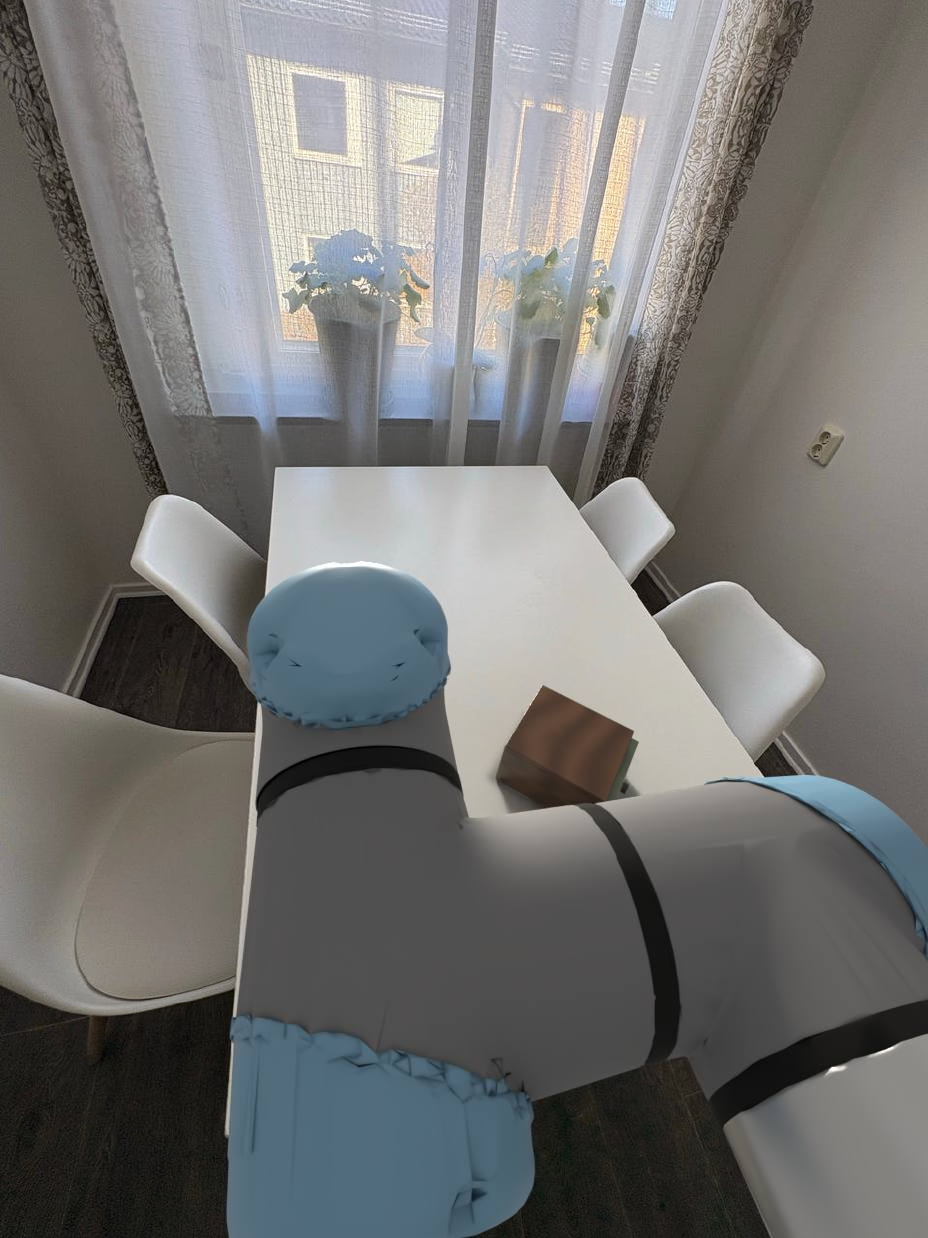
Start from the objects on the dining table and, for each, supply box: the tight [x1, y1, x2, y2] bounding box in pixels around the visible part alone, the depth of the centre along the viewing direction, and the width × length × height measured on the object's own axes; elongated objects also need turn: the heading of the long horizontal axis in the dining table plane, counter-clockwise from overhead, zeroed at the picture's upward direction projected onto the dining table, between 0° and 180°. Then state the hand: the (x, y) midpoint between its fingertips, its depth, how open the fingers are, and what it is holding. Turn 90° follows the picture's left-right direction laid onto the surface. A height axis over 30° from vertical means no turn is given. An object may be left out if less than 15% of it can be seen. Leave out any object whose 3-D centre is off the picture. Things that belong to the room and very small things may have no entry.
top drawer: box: [606, 737, 640, 802], centre depth 75 cm, size 15×12×7 cm
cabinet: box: [495, 684, 635, 809], centre depth 75 cm, size 15×13×9 cm
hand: (373, 917), depth 45 cm, fingers closed on white cup, 8 cm apart
